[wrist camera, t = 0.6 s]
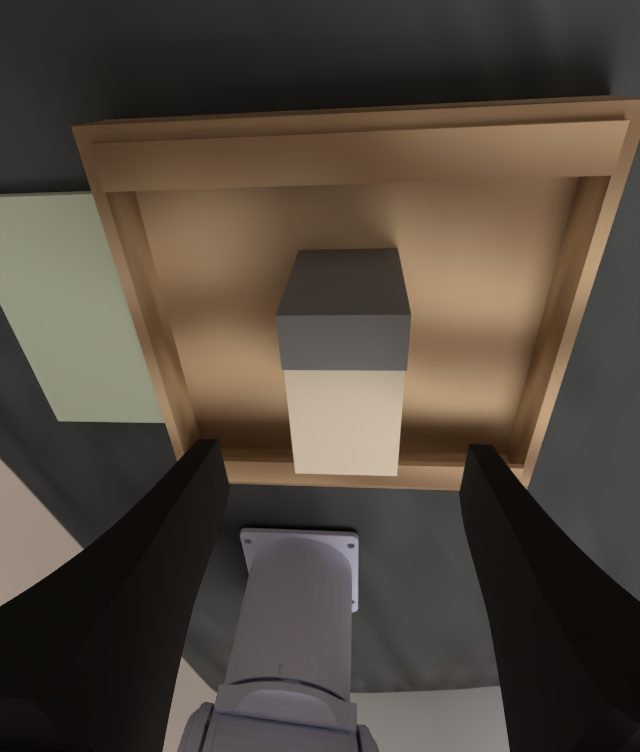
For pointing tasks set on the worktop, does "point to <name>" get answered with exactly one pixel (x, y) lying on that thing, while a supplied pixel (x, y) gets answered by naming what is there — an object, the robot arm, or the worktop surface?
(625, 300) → the worktop surface
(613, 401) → the worktop surface
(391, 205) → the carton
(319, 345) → the box
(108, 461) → the worktop surface
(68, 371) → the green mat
